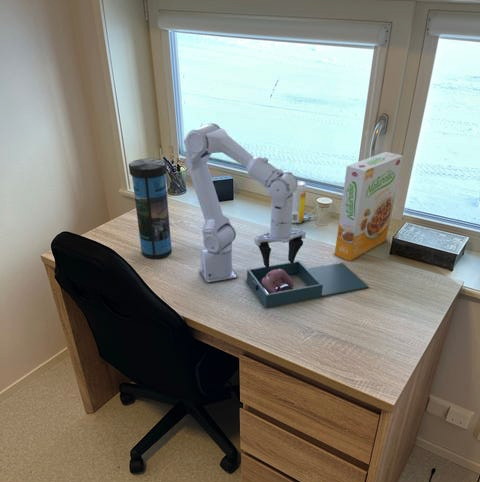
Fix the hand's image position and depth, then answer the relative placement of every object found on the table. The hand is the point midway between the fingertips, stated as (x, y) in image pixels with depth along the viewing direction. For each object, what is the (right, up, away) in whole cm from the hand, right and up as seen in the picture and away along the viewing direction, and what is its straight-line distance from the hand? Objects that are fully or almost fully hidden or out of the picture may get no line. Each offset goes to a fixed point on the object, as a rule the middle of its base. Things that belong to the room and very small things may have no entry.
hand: (278, 263), depth 132 cm
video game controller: (0, -7, +5) cm, 9 cm away
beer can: (+11, +21, +48) cm, 53 cm away
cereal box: (+31, +8, +29) cm, 43 cm away
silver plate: (0, -7, +5) cm, 9 cm away
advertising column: (-39, +6, +25) cm, 47 cm away
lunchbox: (+9, -6, +8) cm, 13 cm away
